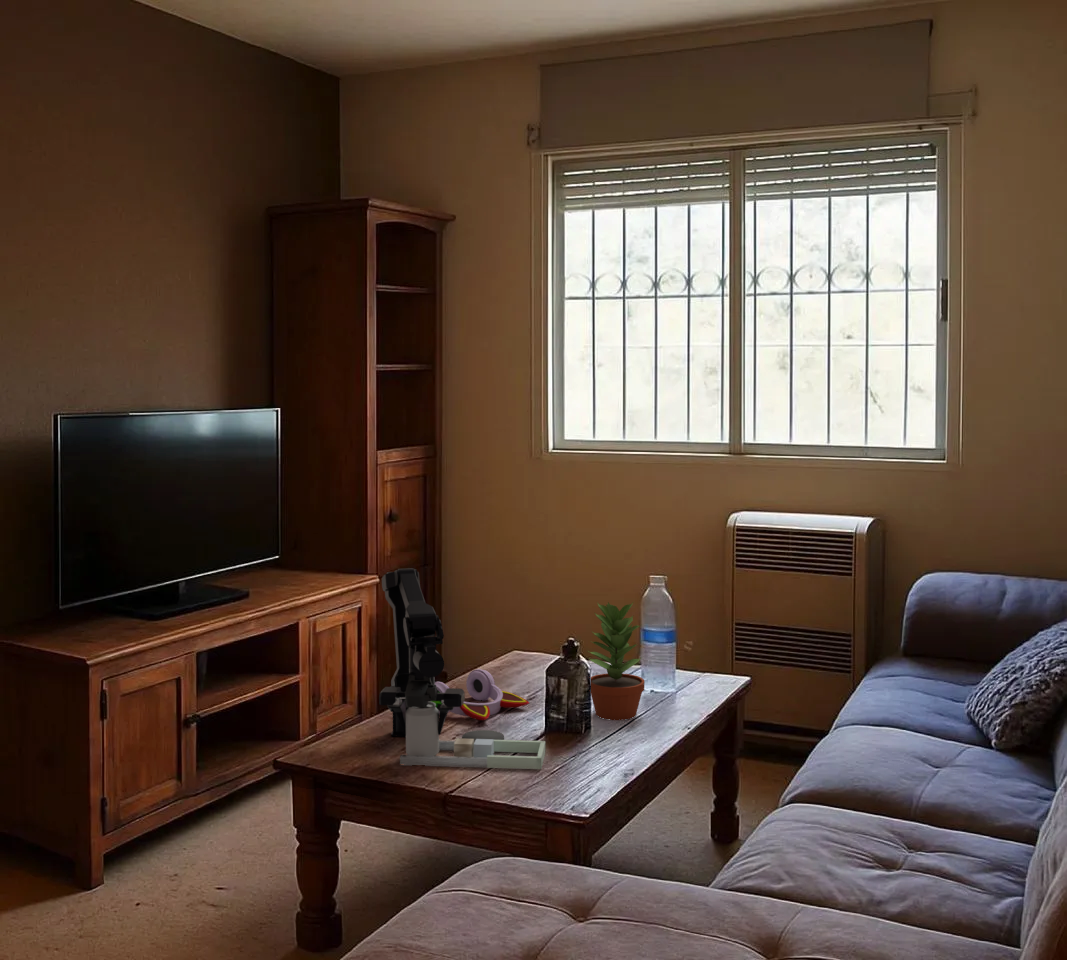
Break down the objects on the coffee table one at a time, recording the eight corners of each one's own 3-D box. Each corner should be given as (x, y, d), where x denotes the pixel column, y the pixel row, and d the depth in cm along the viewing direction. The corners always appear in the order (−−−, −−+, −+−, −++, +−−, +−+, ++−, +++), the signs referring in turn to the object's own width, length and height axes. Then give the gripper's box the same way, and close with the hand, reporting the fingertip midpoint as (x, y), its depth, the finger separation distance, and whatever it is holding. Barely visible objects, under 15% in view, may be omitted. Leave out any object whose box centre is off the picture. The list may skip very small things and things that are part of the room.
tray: (487, 767, 261) (487, 756, 261) (493, 750, 273) (493, 739, 273) (541, 769, 260) (541, 758, 260) (545, 751, 272) (545, 741, 272)
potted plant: (648, 707, 307) (649, 593, 304) (640, 724, 292) (641, 605, 290) (591, 704, 310) (592, 591, 308) (581, 720, 296) (581, 602, 293)
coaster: (459, 745, 277) (459, 742, 277) (465, 731, 287) (465, 729, 287) (501, 746, 276) (501, 743, 276) (506, 733, 286) (506, 730, 286)
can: (413, 762, 263) (412, 710, 262) (401, 753, 270) (400, 701, 269) (444, 757, 267) (443, 705, 266) (431, 748, 274) (431, 697, 272)
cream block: (454, 761, 266) (453, 743, 266) (456, 755, 270) (456, 738, 269) (471, 761, 266) (471, 744, 265) (474, 755, 269) (474, 738, 269)
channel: (400, 765, 263) (399, 756, 263) (410, 747, 275) (410, 739, 275) (487, 767, 261) (487, 758, 261) (493, 750, 273) (493, 741, 273)
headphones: (470, 667, 318) (529, 669, 306) (474, 703, 319) (532, 707, 306) (420, 682, 303) (480, 685, 291) (424, 720, 303) (483, 725, 291)
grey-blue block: (473, 761, 265) (473, 744, 265) (476, 756, 269) (476, 738, 269) (491, 762, 265) (491, 744, 265) (493, 756, 269) (493, 739, 269)
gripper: (373, 674, 259) (374, 743, 261) (457, 676, 258) (457, 746, 259) (383, 662, 270) (384, 728, 272) (464, 663, 269) (465, 730, 270)
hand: (422, 733), depth 268 cm, fingers closed on can, 7 cm apart
